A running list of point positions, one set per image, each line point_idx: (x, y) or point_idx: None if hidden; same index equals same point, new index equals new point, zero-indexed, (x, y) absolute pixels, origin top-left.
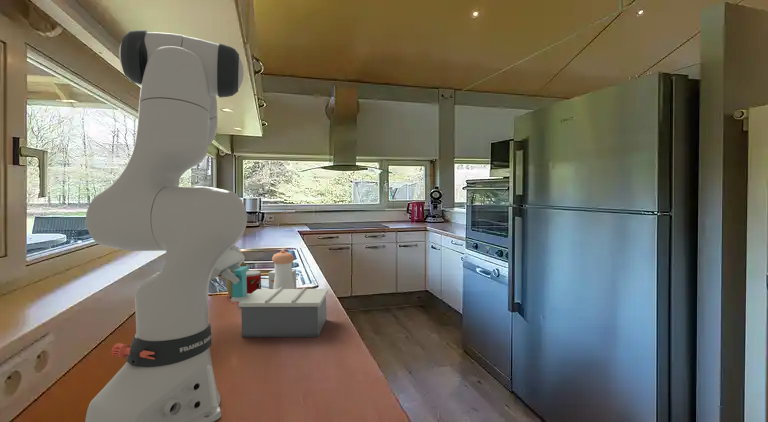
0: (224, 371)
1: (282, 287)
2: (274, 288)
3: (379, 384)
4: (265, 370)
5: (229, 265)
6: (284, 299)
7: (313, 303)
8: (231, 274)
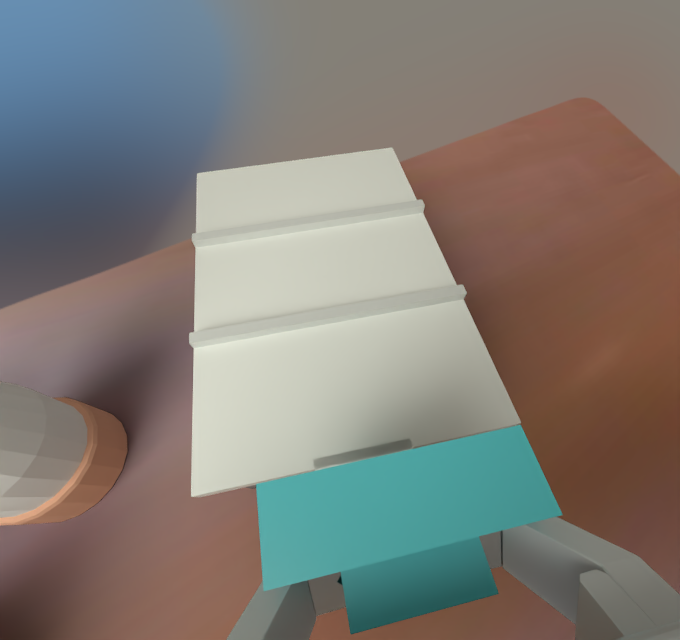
0: (661, 347)
1: (34, 422)
2: (5, 489)
3: (532, 117)
4: (595, 267)
5: (642, 638)
6: (385, 251)
7: (397, 162)
8: (577, 532)
